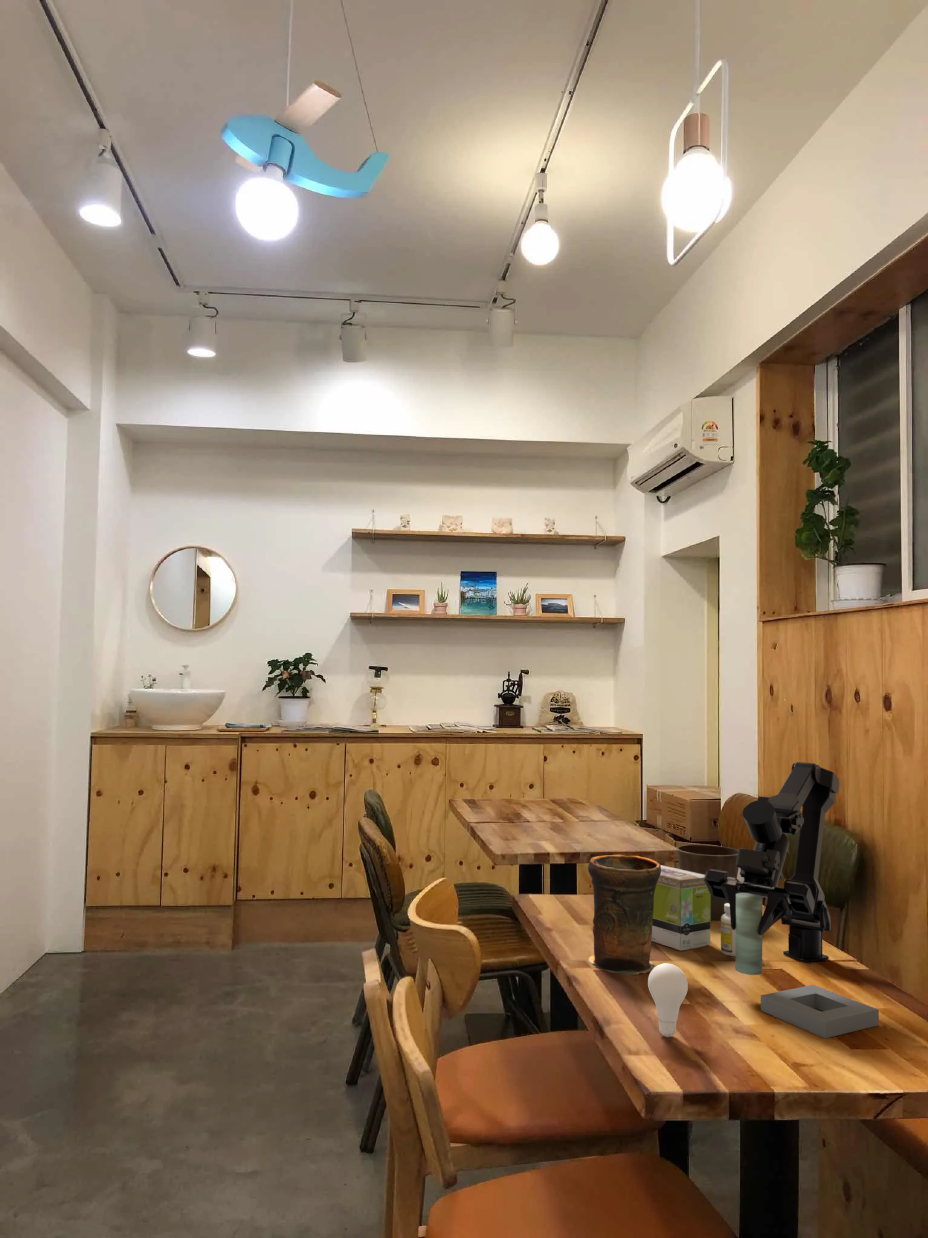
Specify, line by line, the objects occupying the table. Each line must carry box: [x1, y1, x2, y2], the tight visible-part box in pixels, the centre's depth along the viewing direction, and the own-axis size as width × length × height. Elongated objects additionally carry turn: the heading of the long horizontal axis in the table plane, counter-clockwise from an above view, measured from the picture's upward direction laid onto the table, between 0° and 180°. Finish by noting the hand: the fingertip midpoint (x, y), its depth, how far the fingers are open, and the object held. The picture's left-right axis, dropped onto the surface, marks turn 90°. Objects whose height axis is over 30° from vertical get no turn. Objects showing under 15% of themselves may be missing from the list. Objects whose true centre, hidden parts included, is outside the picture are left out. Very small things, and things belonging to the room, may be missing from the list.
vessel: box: [587, 854, 661, 976], centre depth 173 cm, size 14×14×20 cm
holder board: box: [760, 984, 880, 1039], centre depth 145 cm, size 13×13×2 cm
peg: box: [735, 893, 763, 976], centre depth 154 cm, size 4×4×13 cm
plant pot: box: [676, 844, 740, 922], centre depth 210 cm, size 15×15×16 cm
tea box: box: [651, 864, 712, 951], centre depth 190 cm, size 15×10×15 cm, turn 34°
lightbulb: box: [647, 962, 689, 1038], centre depth 136 cm, size 6×6×11 cm
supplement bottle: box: [720, 903, 736, 957], centre depth 181 cm, size 5×5×10 cm
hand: (746, 931), depth 153 cm, fingers closed on peg, 4 cm apart
